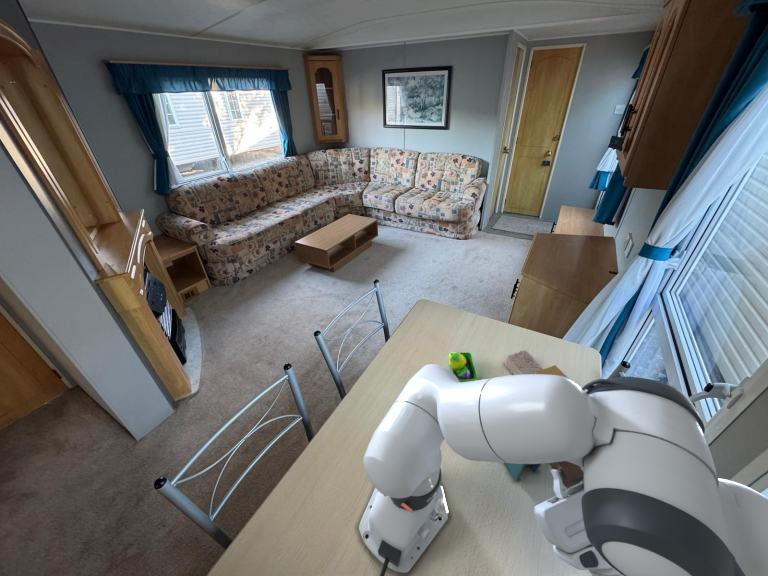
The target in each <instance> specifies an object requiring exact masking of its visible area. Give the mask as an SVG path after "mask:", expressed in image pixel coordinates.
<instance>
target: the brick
mask: <svg viewBox="0 0 768 576" xmlns="http://www.w3.org/2000/svg"><path fill="white" fill-rule="evenodd" d="M504 365H505V366H506V368H507V369H508V371H510V373H511V374H512V375H522V374H535V372H537V371H540V370H543V369H544V368H542V366H541V365H540V364H539V362H537V361H536V359H535V358H534V357H533V355H532V354H531V353H530V352H529V351H528V350H527V349H523V350H520V351H516V352H514V353H511V354H509V355H507V356H506V357H505V361H504Z"/></svg>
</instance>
